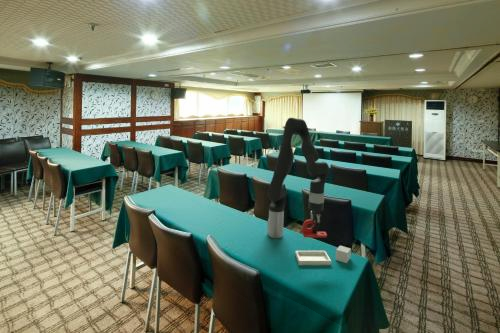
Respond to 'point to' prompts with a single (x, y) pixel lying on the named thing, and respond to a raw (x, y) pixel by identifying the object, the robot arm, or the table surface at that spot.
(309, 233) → the bracket
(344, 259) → the white cube
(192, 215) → the table surface
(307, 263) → the holder tray
